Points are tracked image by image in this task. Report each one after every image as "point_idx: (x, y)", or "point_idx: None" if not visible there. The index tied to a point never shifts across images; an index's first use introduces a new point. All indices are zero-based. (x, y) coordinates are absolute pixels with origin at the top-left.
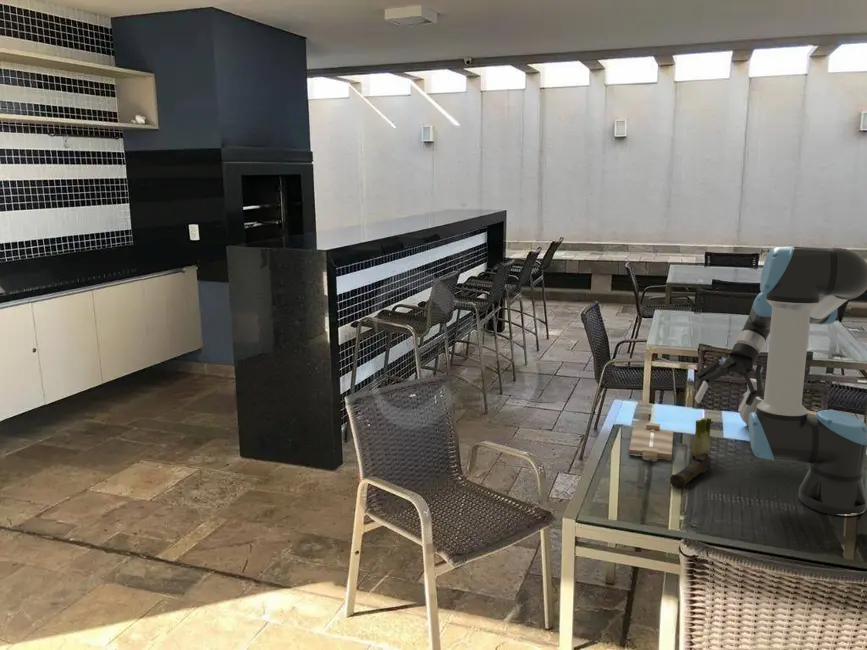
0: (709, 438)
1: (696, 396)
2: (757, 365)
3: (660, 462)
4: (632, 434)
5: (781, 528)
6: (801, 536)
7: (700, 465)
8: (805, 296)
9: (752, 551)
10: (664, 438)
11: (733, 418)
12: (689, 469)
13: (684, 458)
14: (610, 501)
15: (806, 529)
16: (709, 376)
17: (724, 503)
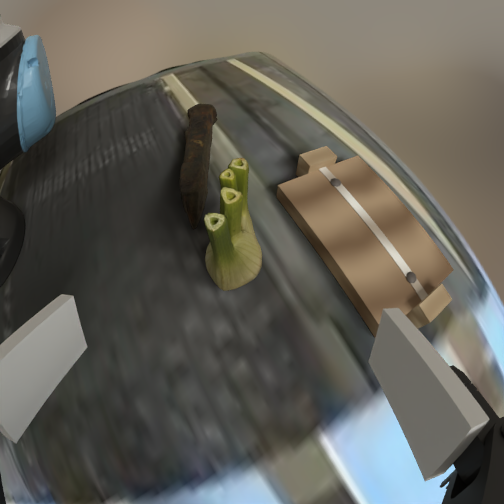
0: (212, 260)
1: (401, 318)
2: None
3: (288, 177)
4: (420, 225)
5: (57, 142)
6: (41, 146)
7: (184, 161)
8: None
9: (89, 98)
10: (362, 261)
11: None
12: (194, 131)
13: (261, 229)
14: (256, 71)
15: (33, 161)
16: (492, 491)
17: (123, 135)
